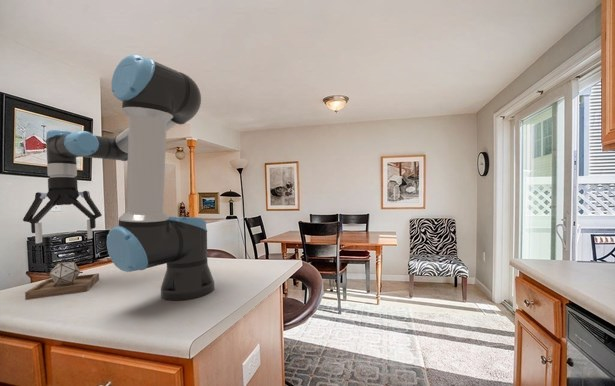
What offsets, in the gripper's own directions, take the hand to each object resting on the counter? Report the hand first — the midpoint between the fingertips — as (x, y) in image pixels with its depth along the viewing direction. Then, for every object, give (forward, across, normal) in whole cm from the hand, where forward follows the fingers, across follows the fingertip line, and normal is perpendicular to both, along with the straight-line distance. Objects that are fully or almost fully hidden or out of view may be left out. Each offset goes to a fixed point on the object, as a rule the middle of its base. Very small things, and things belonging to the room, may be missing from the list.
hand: (65, 240), depth 96 cm
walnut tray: (+16, 0, -1) cm, 16 cm away
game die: (+15, +1, -1) cm, 15 cm away
